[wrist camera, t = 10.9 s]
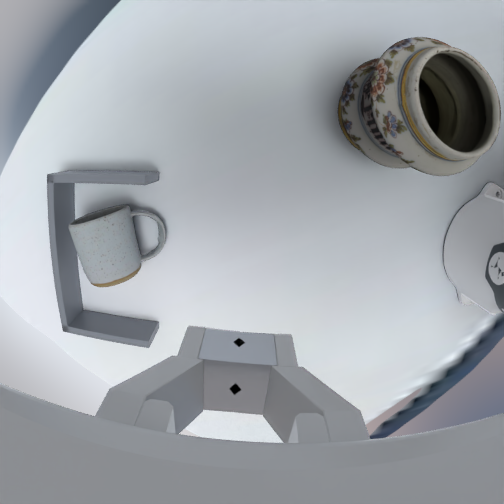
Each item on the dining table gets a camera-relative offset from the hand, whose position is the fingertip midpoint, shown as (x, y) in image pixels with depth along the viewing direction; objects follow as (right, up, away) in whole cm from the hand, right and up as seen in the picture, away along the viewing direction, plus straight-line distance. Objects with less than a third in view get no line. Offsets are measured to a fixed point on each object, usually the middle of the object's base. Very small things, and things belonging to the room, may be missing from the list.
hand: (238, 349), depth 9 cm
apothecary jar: (+15, +19, +25) cm, 35 cm away
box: (-18, +3, +30) cm, 35 cm away
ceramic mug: (-15, +5, +29) cm, 33 cm away
